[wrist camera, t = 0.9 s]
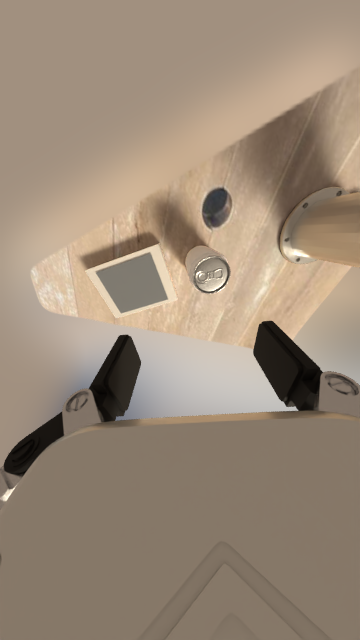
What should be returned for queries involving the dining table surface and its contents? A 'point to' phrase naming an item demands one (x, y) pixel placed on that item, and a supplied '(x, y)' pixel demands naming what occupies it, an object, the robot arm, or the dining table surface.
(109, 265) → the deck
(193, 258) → the can
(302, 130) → the dining table surface
